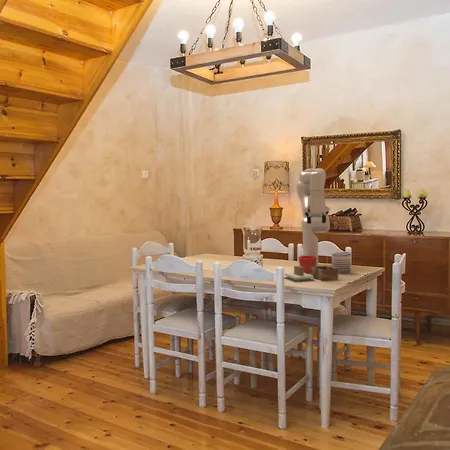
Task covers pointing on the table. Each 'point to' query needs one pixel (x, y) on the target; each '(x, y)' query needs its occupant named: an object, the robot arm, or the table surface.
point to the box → (324, 273)
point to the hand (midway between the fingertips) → (316, 223)
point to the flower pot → (307, 263)
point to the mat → (298, 280)
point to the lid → (299, 274)
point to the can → (341, 262)
